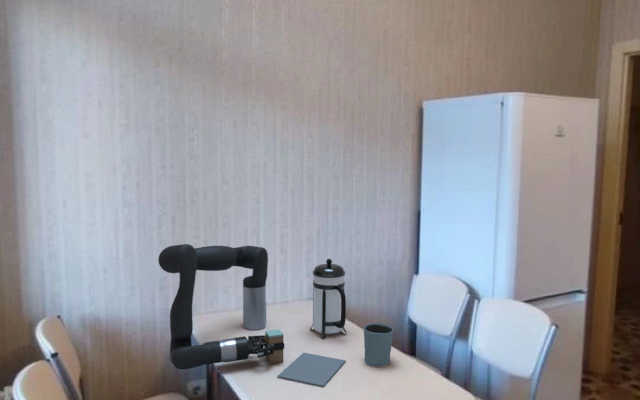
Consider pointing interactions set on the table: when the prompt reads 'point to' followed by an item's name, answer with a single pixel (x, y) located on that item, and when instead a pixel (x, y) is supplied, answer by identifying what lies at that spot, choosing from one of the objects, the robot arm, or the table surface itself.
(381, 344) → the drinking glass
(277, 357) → the walnut block
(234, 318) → the table surface
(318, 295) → the coffee press
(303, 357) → the mat
